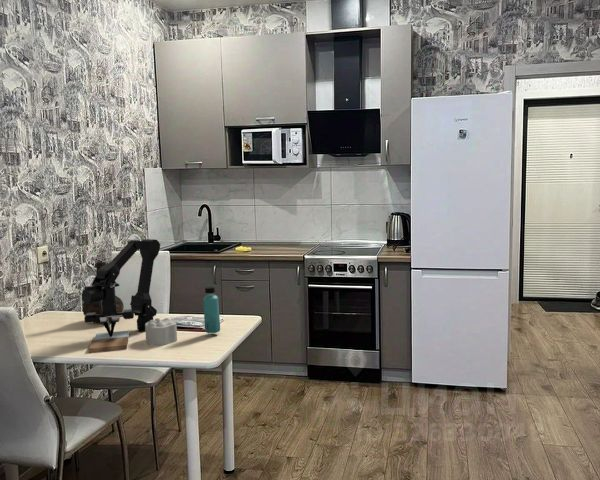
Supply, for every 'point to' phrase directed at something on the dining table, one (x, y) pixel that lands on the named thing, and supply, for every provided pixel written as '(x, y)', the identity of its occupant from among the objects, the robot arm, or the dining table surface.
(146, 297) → the robot arm
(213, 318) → the beverage bottle
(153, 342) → the lumpy-topped squat cylinder
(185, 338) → the dining table surface
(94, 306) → the brown flower vase
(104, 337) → the floor tile
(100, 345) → the walnut floor board
